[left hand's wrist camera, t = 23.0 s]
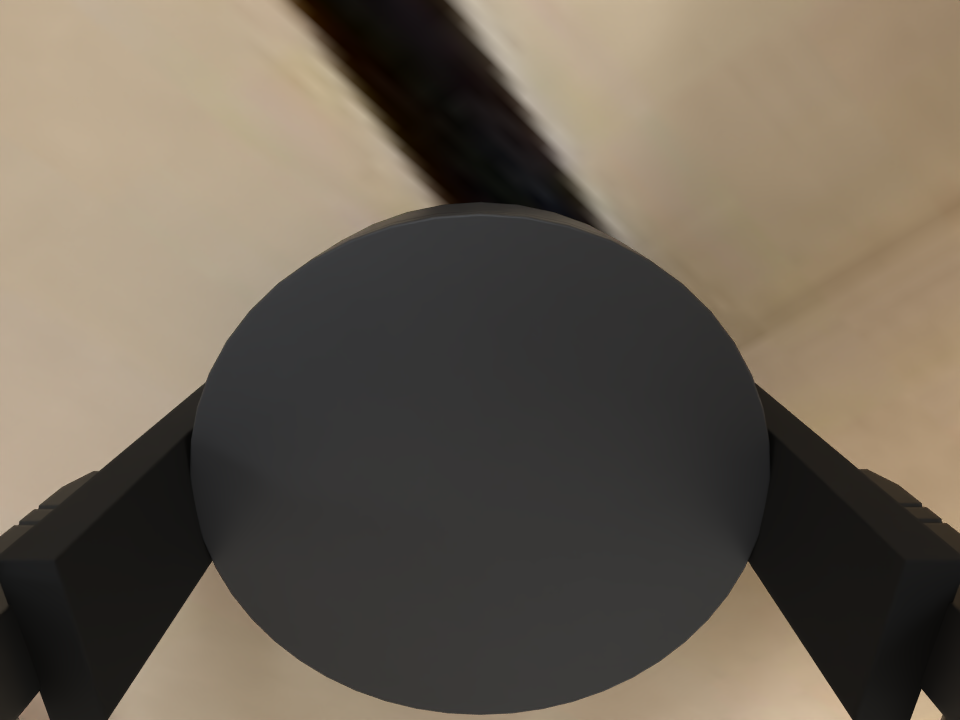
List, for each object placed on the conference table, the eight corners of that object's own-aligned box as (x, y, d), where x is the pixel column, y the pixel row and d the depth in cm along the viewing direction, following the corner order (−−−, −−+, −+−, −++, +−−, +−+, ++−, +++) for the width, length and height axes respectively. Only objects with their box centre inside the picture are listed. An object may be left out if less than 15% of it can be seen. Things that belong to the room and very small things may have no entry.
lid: (481, 71, 10) (480, 50, 8) (820, 451, 12) (886, 509, 10) (140, 450, 12) (74, 508, 10) (479, 699, 15) (479, 784, 13)
